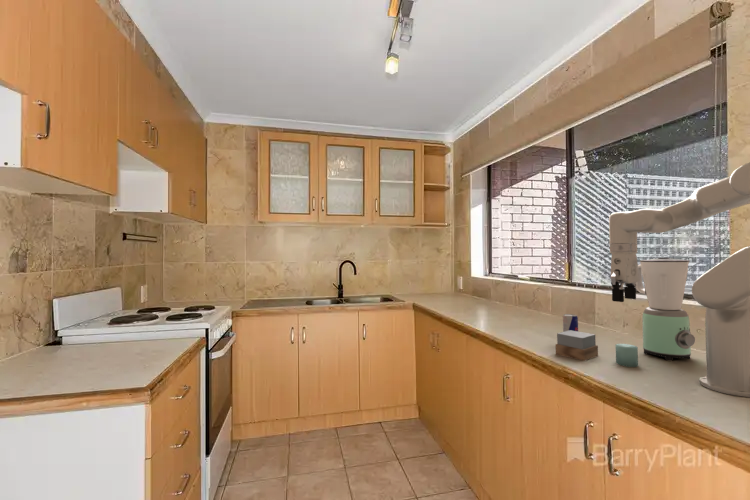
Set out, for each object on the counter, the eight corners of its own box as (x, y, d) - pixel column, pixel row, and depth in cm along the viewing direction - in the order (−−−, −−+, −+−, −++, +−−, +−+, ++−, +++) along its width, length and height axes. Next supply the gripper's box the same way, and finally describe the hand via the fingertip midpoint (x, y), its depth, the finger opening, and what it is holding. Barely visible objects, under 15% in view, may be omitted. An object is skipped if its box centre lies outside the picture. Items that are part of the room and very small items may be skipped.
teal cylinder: (641, 364, 114) (640, 346, 115) (633, 368, 111) (633, 349, 111) (620, 360, 119) (619, 342, 120) (612, 363, 116) (612, 345, 116)
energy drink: (580, 346, 137) (579, 316, 137) (566, 346, 138) (565, 316, 138) (575, 343, 142) (575, 314, 142) (561, 342, 143) (560, 313, 143)
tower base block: (598, 356, 125) (597, 345, 125) (584, 361, 120) (584, 350, 120) (569, 350, 133) (569, 340, 134) (555, 355, 128) (555, 344, 128)
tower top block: (595, 345, 125) (595, 334, 125) (582, 349, 120) (582, 338, 120) (570, 340, 133) (570, 330, 133) (557, 344, 128) (557, 333, 128)
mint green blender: (708, 361, 116) (704, 257, 117) (676, 364, 113) (673, 258, 114) (651, 346, 135) (649, 257, 135) (623, 349, 132) (620, 257, 132)
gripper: (625, 249, 108) (626, 304, 108) (646, 248, 118) (647, 298, 117) (599, 249, 114) (600, 301, 114) (621, 248, 124) (622, 296, 124)
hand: (624, 300), depth 116 cm, fingers open, 9 cm apart
